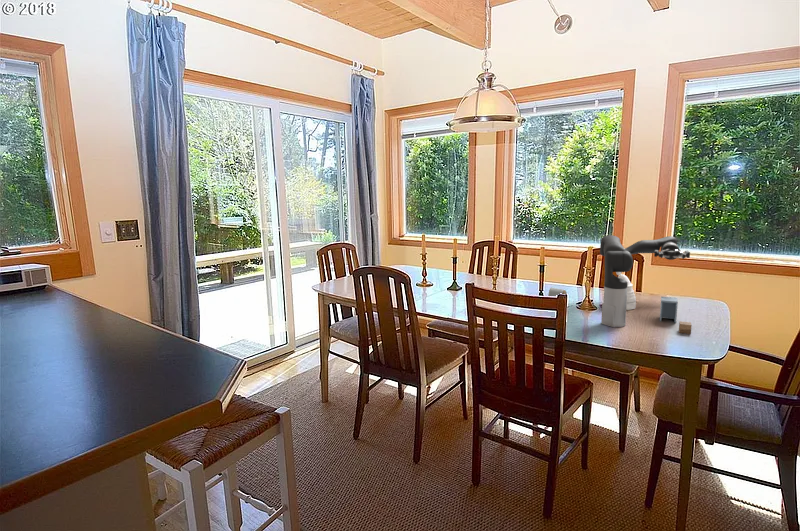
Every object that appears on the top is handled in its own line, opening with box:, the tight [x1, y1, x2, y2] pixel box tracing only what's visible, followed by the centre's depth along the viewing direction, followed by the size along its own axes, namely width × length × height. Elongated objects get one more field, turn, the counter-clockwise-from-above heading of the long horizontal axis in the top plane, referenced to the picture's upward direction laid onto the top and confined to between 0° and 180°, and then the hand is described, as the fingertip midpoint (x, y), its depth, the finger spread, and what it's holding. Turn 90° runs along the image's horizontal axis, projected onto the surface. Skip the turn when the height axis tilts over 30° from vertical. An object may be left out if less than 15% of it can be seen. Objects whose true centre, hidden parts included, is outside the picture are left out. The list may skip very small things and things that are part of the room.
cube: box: [678, 320, 692, 335], centre depth 178 cm, size 4×4×4 cm
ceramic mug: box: [547, 287, 567, 297], centre depth 232 cm, size 11×8×8 cm
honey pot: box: [615, 272, 637, 311], centre depth 217 cm, size 13×13×18 cm
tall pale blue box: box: [659, 296, 679, 324], centre depth 193 cm, size 7×6×10 cm
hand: (672, 256), depth 198 cm, fingers open, 8 cm apart
